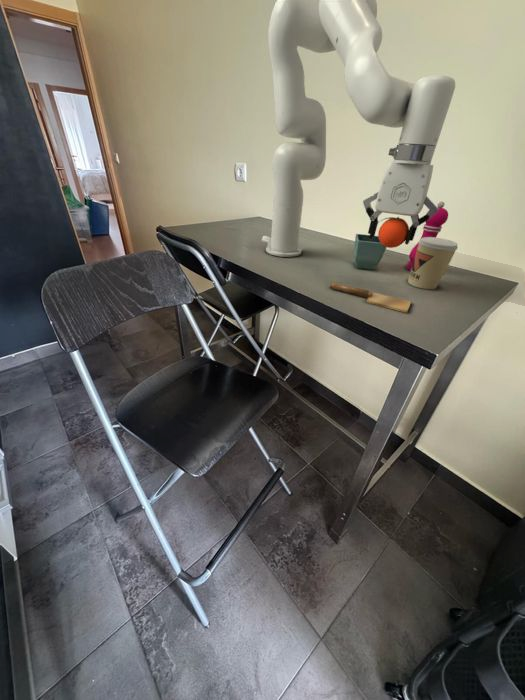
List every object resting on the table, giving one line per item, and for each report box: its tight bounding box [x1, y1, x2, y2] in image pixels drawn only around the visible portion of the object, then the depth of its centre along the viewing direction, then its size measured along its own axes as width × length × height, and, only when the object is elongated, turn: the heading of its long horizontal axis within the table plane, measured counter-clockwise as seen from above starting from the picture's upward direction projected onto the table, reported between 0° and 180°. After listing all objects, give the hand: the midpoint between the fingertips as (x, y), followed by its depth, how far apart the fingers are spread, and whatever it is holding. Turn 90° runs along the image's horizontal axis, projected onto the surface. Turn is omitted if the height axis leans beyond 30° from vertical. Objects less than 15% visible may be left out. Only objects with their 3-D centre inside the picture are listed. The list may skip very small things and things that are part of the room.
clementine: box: [377, 216, 410, 249], centre depth 70 cm, size 8×7×7 cm
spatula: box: [329, 281, 412, 314], centre depth 72 cm, size 20×6×2 cm, turn 59°
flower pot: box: [353, 233, 387, 271], centre depth 90 cm, size 9×9×9 cm
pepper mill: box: [406, 200, 449, 272], centre depth 87 cm, size 7×7×20 cm
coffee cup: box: [407, 237, 459, 290], centre depth 79 cm, size 9×9×12 cm
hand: (388, 239), depth 71 cm, fingers closed on clementine, 8 cm apart
